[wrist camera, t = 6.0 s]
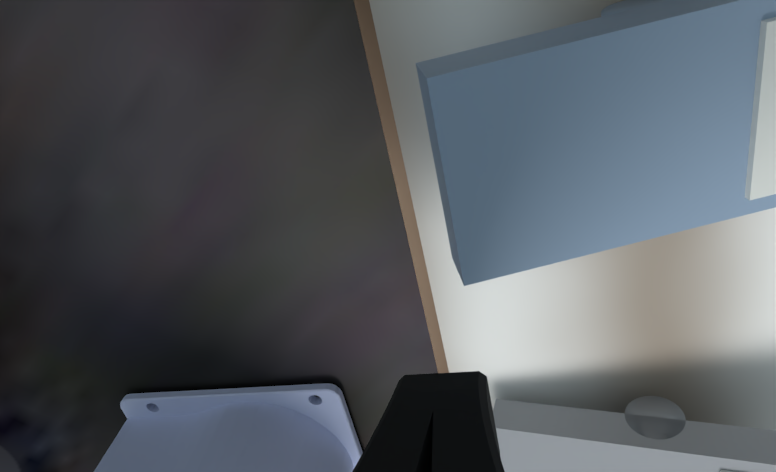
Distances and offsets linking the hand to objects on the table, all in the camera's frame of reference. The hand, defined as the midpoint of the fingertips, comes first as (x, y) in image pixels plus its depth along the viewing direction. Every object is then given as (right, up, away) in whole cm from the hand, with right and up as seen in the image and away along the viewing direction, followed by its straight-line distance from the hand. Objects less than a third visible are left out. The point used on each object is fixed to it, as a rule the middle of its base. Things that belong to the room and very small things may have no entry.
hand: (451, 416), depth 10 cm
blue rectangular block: (+4, +6, +2) cm, 7 cm away
